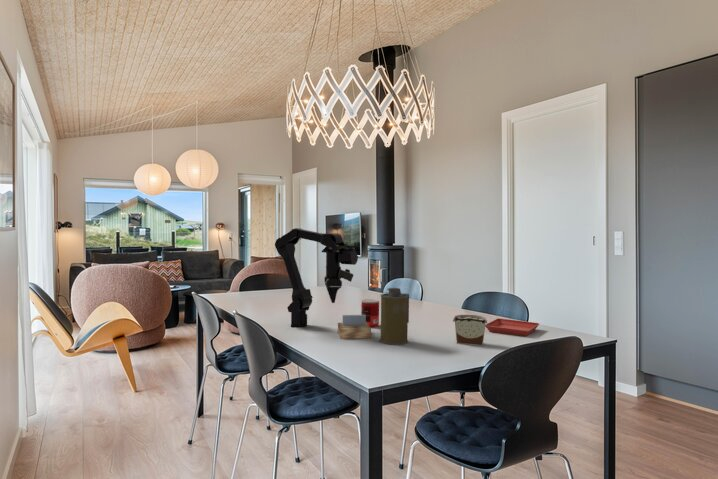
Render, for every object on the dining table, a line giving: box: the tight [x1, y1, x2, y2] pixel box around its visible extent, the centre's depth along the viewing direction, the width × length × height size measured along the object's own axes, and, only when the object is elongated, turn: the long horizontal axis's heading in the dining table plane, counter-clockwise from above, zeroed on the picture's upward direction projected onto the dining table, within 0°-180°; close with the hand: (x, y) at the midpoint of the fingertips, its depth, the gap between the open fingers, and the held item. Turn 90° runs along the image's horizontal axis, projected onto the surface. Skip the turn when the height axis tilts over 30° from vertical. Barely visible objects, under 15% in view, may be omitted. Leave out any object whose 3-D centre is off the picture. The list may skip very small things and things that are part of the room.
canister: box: [379, 287, 410, 346], centre depth 177 cm, size 11×10×20 cm
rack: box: [337, 322, 372, 340], centre depth 187 cm, size 12×12×4 cm
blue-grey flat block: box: [341, 314, 366, 326], centre depth 187 cm, size 9×2×7 cm, turn 97°
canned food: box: [360, 298, 380, 328], centre depth 206 cm, size 8×8×11 cm
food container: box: [452, 314, 488, 347], centre depth 176 cm, size 12×6×10 cm, turn 71°
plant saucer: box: [485, 318, 540, 337], centre depth 198 cm, size 18×18×3 cm
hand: (332, 301), depth 196 cm, fingers open, 9 cm apart
